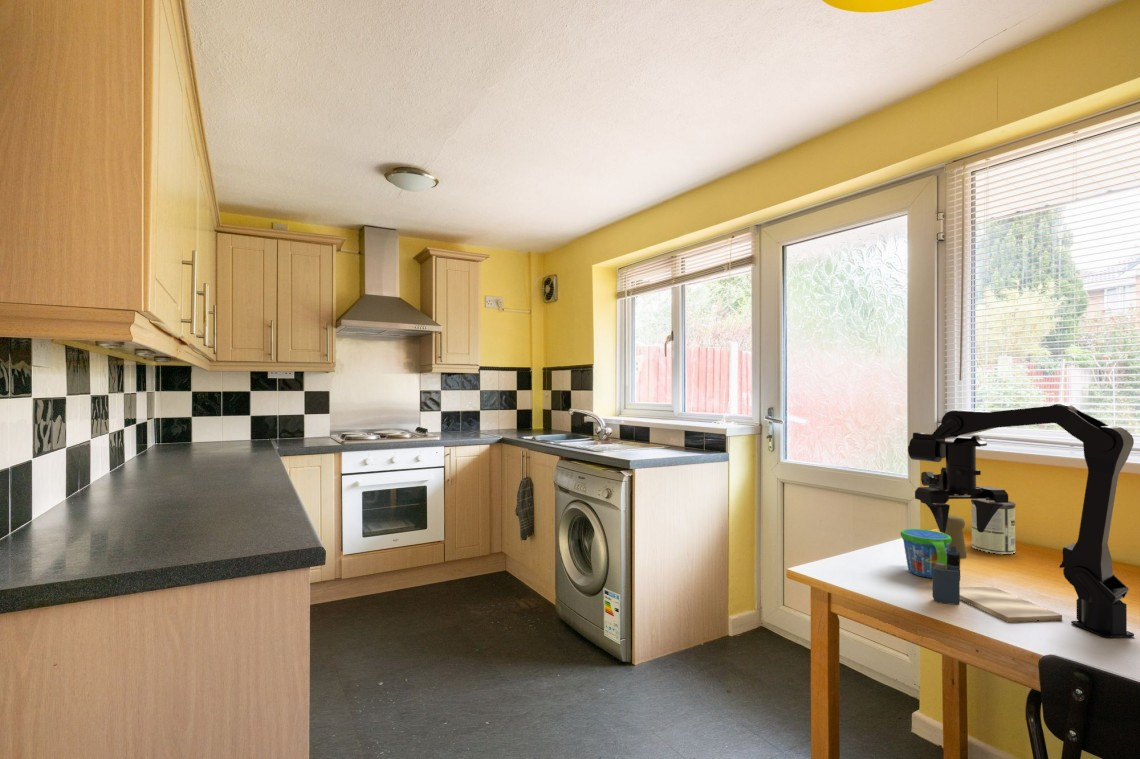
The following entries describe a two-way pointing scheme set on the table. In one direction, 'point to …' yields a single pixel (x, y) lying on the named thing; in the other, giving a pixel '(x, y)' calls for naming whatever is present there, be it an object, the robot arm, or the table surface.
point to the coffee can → (996, 531)
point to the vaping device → (947, 578)
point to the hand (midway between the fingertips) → (961, 532)
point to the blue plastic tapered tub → (925, 550)
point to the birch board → (1006, 605)
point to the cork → (956, 534)
